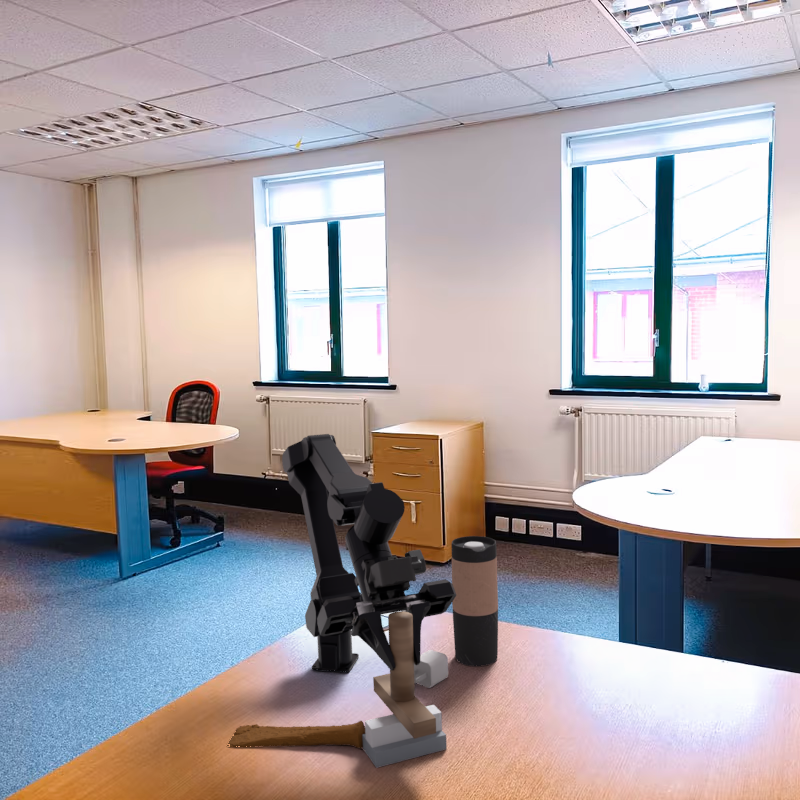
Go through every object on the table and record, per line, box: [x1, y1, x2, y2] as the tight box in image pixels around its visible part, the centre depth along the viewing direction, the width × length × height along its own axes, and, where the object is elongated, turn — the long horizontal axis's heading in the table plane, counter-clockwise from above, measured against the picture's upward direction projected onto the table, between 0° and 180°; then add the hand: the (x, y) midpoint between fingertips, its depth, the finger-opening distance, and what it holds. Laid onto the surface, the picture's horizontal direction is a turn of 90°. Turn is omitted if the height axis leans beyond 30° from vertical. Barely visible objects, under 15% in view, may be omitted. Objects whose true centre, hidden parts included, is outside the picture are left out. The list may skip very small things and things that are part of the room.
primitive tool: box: [226, 720, 366, 750], centre depth 106 cm, size 19×6×4 cm, turn 84°
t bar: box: [372, 611, 436, 739], centre depth 102 cm, size 14×3×13 cm, turn 23°
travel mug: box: [450, 535, 499, 667], centre depth 130 cm, size 8×8×20 cm
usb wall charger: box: [414, 649, 449, 689], centre depth 122 cm, size 4×7×4 cm, turn 140°
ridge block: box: [362, 704, 448, 768], centre depth 103 cm, size 10×5×4 cm, turn 113°
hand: (405, 666), depth 101 cm, fingers closed on t bar, 3 cm apart
